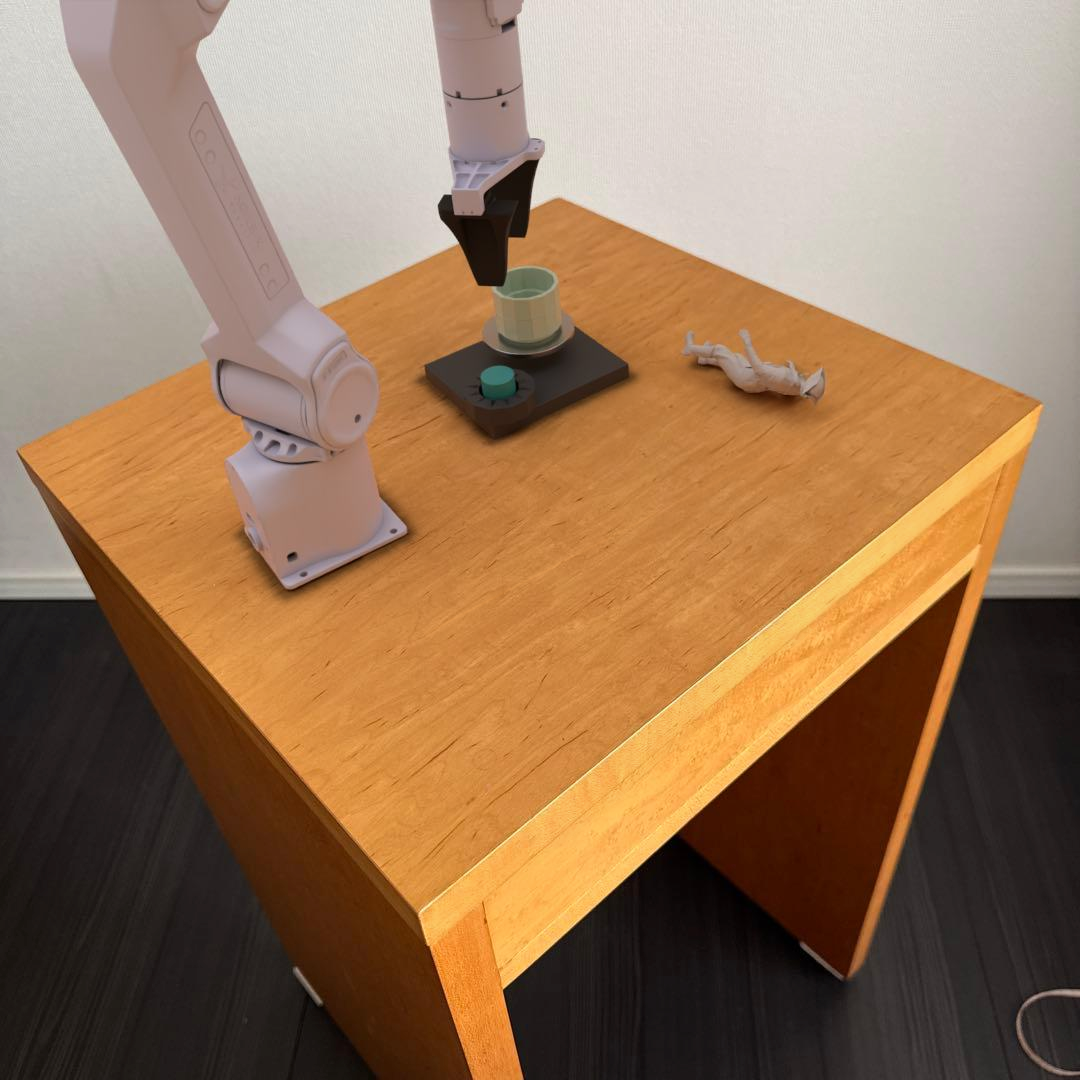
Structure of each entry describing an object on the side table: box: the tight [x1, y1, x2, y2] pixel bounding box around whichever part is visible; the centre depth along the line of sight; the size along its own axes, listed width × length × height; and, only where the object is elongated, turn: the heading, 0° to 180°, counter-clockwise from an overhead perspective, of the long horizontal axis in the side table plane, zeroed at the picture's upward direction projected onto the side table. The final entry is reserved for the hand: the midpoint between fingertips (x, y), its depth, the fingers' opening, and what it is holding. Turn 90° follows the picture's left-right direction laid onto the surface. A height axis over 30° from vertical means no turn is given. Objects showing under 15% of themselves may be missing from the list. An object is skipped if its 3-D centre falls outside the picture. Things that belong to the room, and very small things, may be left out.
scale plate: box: [481, 309, 575, 359], centre depth 92 cm, size 8×8×1 cm
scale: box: [424, 325, 630, 440], centre depth 92 cm, size 14×12×3 cm
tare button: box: [481, 366, 516, 400], centre depth 87 cm, size 3×3×2 cm
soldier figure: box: [681, 328, 827, 406], centre depth 88 cm, size 8×5×12 cm
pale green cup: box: [490, 265, 562, 343], centre depth 91 cm, size 5×5×4 cm
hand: (502, 259), depth 88 cm, fingers open, 7 cm apart
